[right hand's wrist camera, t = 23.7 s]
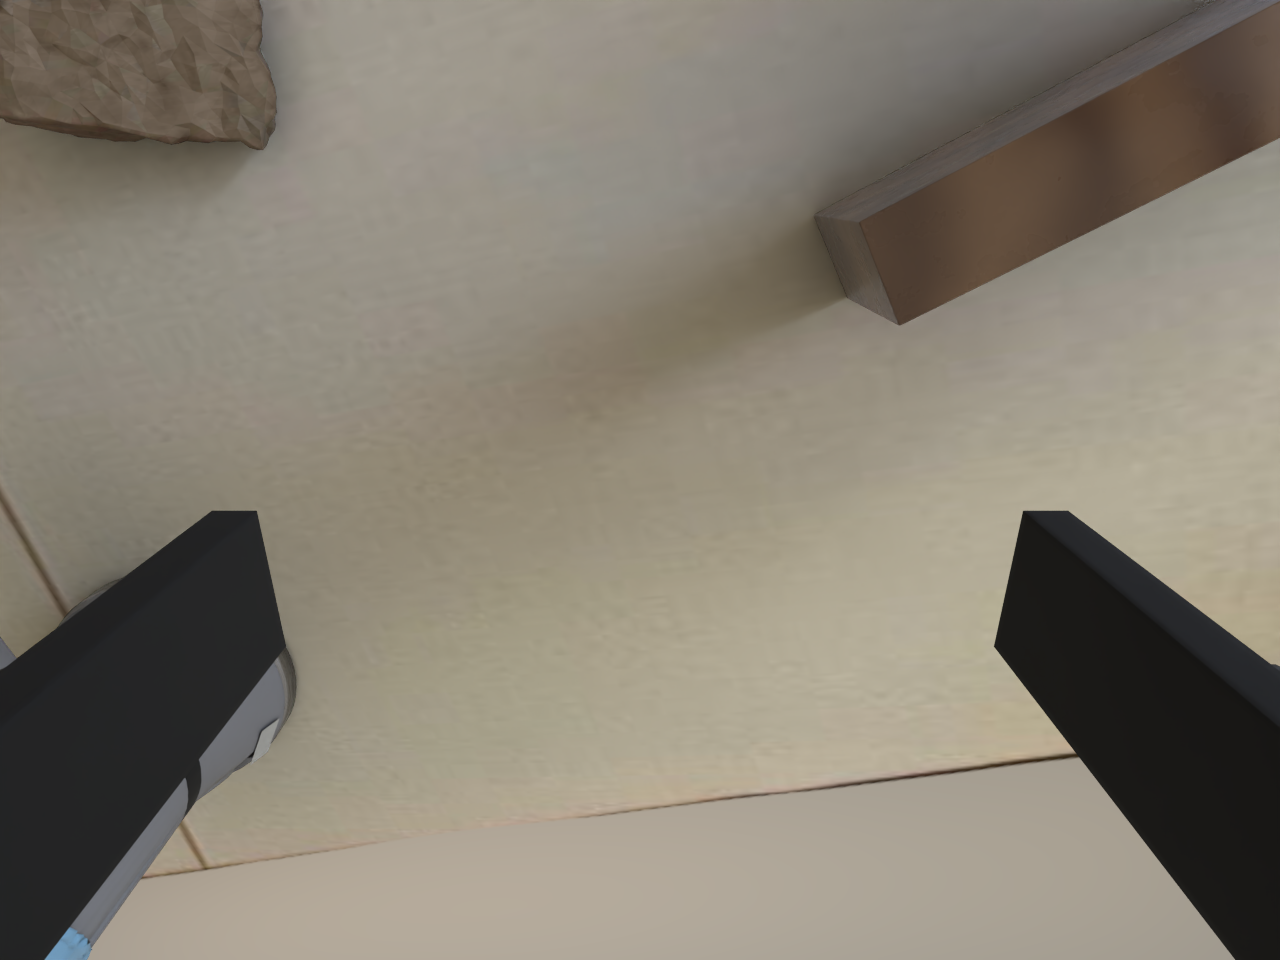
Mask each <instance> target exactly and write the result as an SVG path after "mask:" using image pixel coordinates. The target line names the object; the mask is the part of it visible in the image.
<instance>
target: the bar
mask: <svg viewBox="0 0 1280 960" xmlns="http://www.w3.org/2000/svg"><path fill="white" fill-rule="evenodd" d="M1278 138H1280V0H1216V1H1214V2H1212V3H1210V4H1208V5H1206V6H1204V7H1202V8H1201V9H1199V10H1197V11H1195V12H1193V13H1191V14H1189V15H1187V16H1186V17H1184V18H1182V19H1180V20H1178V21H1176V22H1174V23H1172V24H1171V25H1169V26H1167V27H1165V28H1163V29H1161V30H1159V31H1157V32H1156V33H1154V34H1152V35H1150V36H1148V37H1146V38H1144V39H1142V40H1141V41H1139V42H1137V43H1135V44H1133V45H1131V46H1129V47H1127V48H1126V49H1124V50H1122V51H1120V52H1118V53H1116V54H1114V55H1112V56H1111V57H1109V58H1107V59H1105V60H1103V61H1101V62H1099V63H1097V64H1096V65H1094V66H1092V67H1090V68H1088V69H1086V70H1084V71H1082V72H1081V73H1079V74H1077V75H1075V76H1073V77H1071V78H1069V79H1067V80H1066V81H1064V82H1062V83H1060V84H1058V85H1056V86H1054V87H1052V88H1051V89H1049V90H1047V91H1045V92H1043V93H1041V94H1039V95H1037V96H1036V97H1034V98H1032V99H1030V100H1028V101H1026V102H1024V103H1022V104H1021V105H1019V106H1017V107H1015V108H1013V109H1011V110H1009V111H1007V112H1006V113H1004V114H1002V115H1000V116H998V117H996V118H994V119H992V120H991V121H989V122H987V123H985V124H983V125H981V126H979V127H977V128H976V129H974V130H972V131H970V132H968V133H966V134H964V135H962V136H961V137H959V138H957V139H955V140H953V141H951V142H949V143H947V144H946V145H944V146H942V147H940V148H938V149H936V150H934V151H932V152H931V153H929V154H927V155H925V156H923V157H921V158H919V159H917V160H916V161H914V162H912V163H910V164H908V165H906V166H904V167H902V168H901V169H899V170H897V171H895V172H893V173H891V174H889V175H887V176H886V177H884V178H882V179H880V180H878V181H876V182H874V183H872V184H871V185H869V186H867V187H865V188H863V189H861V190H859V191H857V192H856V193H854V194H852V195H850V196H848V197H846V198H844V199H842V200H841V201H839V202H837V203H835V204H833V205H831V206H829V207H827V208H826V209H824V210H822V211H820V212H818V213H816V214H814V217H815V220H816V222H817V225H818V227H819V230H820V232H821V235H822V237H823V239H824V242H825V244H826V247H827V249H828V252H829V254H830V257H831V259H832V261H833V264H834V266H835V269H836V271H837V274H838V276H839V279H840V281H841V283H842V286H843V288H844V291H845V293H846V296H847V298H848V299H850V300H852V301H854V302H856V303H858V304H860V305H862V306H864V307H865V308H867V309H869V310H871V311H873V312H875V313H877V314H879V315H880V316H882V317H884V318H886V319H888V320H890V321H892V322H894V323H896V324H897V325H902V324H904V323H906V322H908V321H910V320H912V319H914V318H916V317H918V316H920V315H922V314H924V313H926V312H928V311H930V310H932V309H934V308H936V307H938V306H940V305H942V304H945V303H947V302H949V301H951V300H953V299H955V298H957V297H959V296H961V295H963V294H965V293H967V292H969V291H971V290H973V289H975V288H977V287H979V286H981V285H983V284H985V283H987V282H989V281H991V280H993V279H995V278H997V277H999V276H1001V275H1003V274H1005V273H1007V272H1009V271H1011V270H1013V269H1015V268H1017V267H1019V266H1021V265H1023V264H1025V263H1027V262H1030V261H1032V260H1034V259H1036V258H1038V257H1040V256H1042V255H1044V254H1046V253H1048V252H1050V251H1052V250H1054V249H1056V248H1058V247H1060V246H1062V245H1064V244H1066V243H1068V242H1070V241H1072V240H1074V239H1076V238H1078V237H1080V236H1082V235H1084V234H1086V233H1088V232H1090V231H1092V230H1094V229H1096V228H1098V227H1100V226H1102V225H1104V224H1106V223H1108V222H1110V221H1112V220H1114V219H1117V218H1119V217H1121V216H1123V215H1125V214H1127V213H1129V212H1131V211H1133V210H1135V209H1137V208H1139V207H1141V206H1143V205H1145V204H1147V203H1149V202H1151V201H1153V200H1155V199H1157V198H1159V197H1161V196H1163V195H1165V194H1167V193H1169V192H1171V191H1173V190H1175V189H1177V188H1179V187H1181V186H1183V185H1185V184H1187V183H1189V182H1191V181H1193V180H1195V179H1197V178H1199V177H1202V176H1204V175H1206V174H1208V173H1210V172H1212V171H1214V170H1216V169H1218V168H1220V167H1222V166H1224V165H1226V164H1228V163H1230V162H1232V161H1234V160H1236V159H1238V158H1240V157H1242V156H1244V155H1246V154H1248V153H1250V152H1252V151H1254V150H1256V149H1258V148H1260V147H1262V146H1264V145H1266V144H1268V143H1270V142H1272V141H1274V140H1276V139H1278Z"/></svg>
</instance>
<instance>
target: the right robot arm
mask: <svg viewBox="0 0 1280 960" xmlns="http://www.w3.org/2000/svg"><path fill="white" fill-rule="evenodd" d="M994 647H995V648H996V650H997V651H998V652H999V654H1000V655H1001V656H1002V657H1003V659H1004V660H1005V661H1006V663H1007V664H1008V665H1009V667H1010V668H1011V669H1012V670H1013V672H1014V673H1015V674H1016V676H1017V677H1018V678H1019V680H1020V681H1021V682H1022V683H1023V685H1024V686H1025V687H1026V689H1027V690H1028V691H1029V692H1030V694H1031V695H1032V696H1033V698H1034V699H1035V700H1036V702H1037V703H1038V704H1039V705H1040V707H1041V708H1042V709H1043V711H1044V712H1045V713H1046V715H1047V716H1048V717H1049V718H1050V720H1051V721H1052V722H1053V724H1054V725H1055V726H1056V728H1057V729H1058V730H1059V731H1060V733H1061V734H1062V735H1063V737H1064V738H1065V739H1066V741H1067V742H1068V743H1069V744H1070V746H1071V747H1072V748H1073V750H1074V751H1075V752H1076V753H1077V755H1078V756H1079V757H1080V759H1081V760H1082V761H1083V763H1084V764H1085V765H1086V766H1087V768H1088V769H1089V770H1090V772H1091V773H1092V774H1093V776H1094V777H1095V778H1096V779H1097V781H1098V782H1099V783H1100V785H1101V786H1102V787H1103V789H1104V790H1105V791H1106V792H1107V794H1108V795H1109V796H1110V798H1111V799H1112V800H1113V802H1114V803H1115V804H1116V805H1117V807H1118V808H1119V809H1120V811H1121V812H1122V813H1123V814H1124V816H1125V817H1126V818H1127V820H1128V821H1129V822H1130V824H1131V825H1132V826H1133V827H1134V829H1135V830H1136V831H1137V833H1138V834H1139V835H1140V837H1141V838H1142V839H1143V840H1144V842H1145V843H1146V844H1147V846H1148V847H1149V848H1150V849H1151V851H1152V852H1153V853H1154V855H1155V856H1156V857H1157V859H1158V860H1159V861H1160V863H1161V864H1162V865H1163V866H1164V868H1165V869H1166V870H1167V872H1168V873H1169V874H1170V875H1171V877H1172V878H1173V879H1174V881H1175V882H1176V883H1177V885H1178V886H1179V887H1180V888H1181V890H1182V891H1183V892H1184V894H1185V895H1186V896H1187V898H1188V899H1189V900H1190V901H1191V903H1192V904H1193V905H1194V907H1195V908H1196V909H1197V910H1198V912H1199V913H1200V914H1201V916H1202V917H1203V918H1204V920H1205V921H1206V922H1207V924H1208V925H1209V926H1210V927H1211V929H1212V930H1213V931H1214V933H1215V934H1216V935H1217V936H1218V938H1219V939H1220V940H1221V942H1222V943H1223V944H1224V946H1225V947H1226V948H1227V950H1228V951H1229V952H1230V953H1231V955H1232V956H1233V957H1234V959H1235V960H1280V666H1278V665H1276V664H1270V663H1268V662H1267V661H1266V660H1264V659H1263V658H1262V657H1260V656H1259V655H1258V654H1256V653H1255V652H1254V651H1252V650H1251V649H1250V648H1249V647H1247V646H1246V645H1245V644H1243V643H1242V642H1241V641H1239V640H1238V639H1237V638H1235V637H1234V636H1233V635H1231V634H1230V633H1229V632H1227V631H1226V630H1225V629H1223V628H1222V627H1221V626H1219V625H1218V624H1217V623H1216V622H1214V621H1213V620H1212V619H1210V618H1209V617H1208V616H1206V615H1205V614H1204V613H1202V612H1201V611H1200V610H1198V609H1197V608H1196V607H1194V606H1193V605H1192V604H1190V603H1189V602H1188V601H1186V600H1185V599H1184V598H1182V597H1181V596H1180V595H1179V594H1177V593H1176V592H1175V591H1173V590H1172V589H1171V588H1169V587H1168V586H1167V585H1165V584H1164V583H1163V582H1161V581H1160V580H1159V579H1157V578H1156V577H1155V576H1153V575H1152V574H1151V573H1149V572H1148V571H1147V570H1145V569H1144V568H1143V567H1142V566H1140V565H1139V564H1138V563H1136V562H1135V561H1134V560H1132V559H1131V558H1130V557H1128V556H1127V555H1126V554H1124V553H1123V552H1122V551H1120V550H1119V549H1118V548H1116V547H1115V546H1114V545H1112V544H1111V543H1110V542H1108V541H1107V540H1106V539H1105V538H1103V537H1102V536H1101V535H1099V534H1098V533H1097V532H1095V531H1094V530H1093V529H1091V528H1090V527H1089V526H1087V525H1086V524H1085V523H1083V522H1082V521H1081V520H1079V519H1078V518H1077V517H1075V516H1074V515H1073V514H1071V513H1070V512H1069V511H1023V514H1022V519H1021V524H1020V528H1019V533H1018V538H1017V542H1016V547H1015V552H1014V556H1013V561H1012V566H1011V570H1010V575H1009V580H1008V584H1007V589H1006V593H1005V598H1004V603H1003V607H1002V612H1001V617H1000V621H999V626H998V631H997V635H996V640H995V645H994ZM295 696H296V677H295V671H294V667H293V663H292V660H291V658H290V655H289V652H288V651H287V649H286V645H285V640H284V635H283V631H282V626H281V621H280V617H279V612H278V607H277V603H276V598H275V593H274V589H273V584H272V580H271V575H270V570H269V566H268V561H267V556H266V552H265V547H264V542H263V538H262V533H261V528H260V524H259V519H258V514H257V511H211V512H210V513H209V514H207V515H206V516H205V517H203V518H202V519H201V520H199V521H198V522H197V523H195V524H194V525H193V526H191V527H190V528H189V529H187V530H186V531H185V532H183V533H182V534H181V535H179V536H178V537H177V538H175V539H174V540H173V541H172V542H170V543H169V544H168V545H166V546H165V547H164V548H162V549H161V550H160V551H158V552H157V553H156V554H154V555H153V556H152V557H150V558H149V559H148V560H146V561H145V562H144V563H142V564H141V565H140V566H138V567H137V568H136V569H135V570H133V571H132V572H131V573H129V574H128V575H127V576H125V577H124V578H121V579H118V580H115V581H113V582H111V583H109V584H106V585H104V586H103V587H101V588H100V589H98V590H97V591H95V592H94V593H92V594H91V595H90V596H88V597H87V598H86V599H84V600H83V601H82V602H80V603H79V604H78V605H77V606H75V607H74V608H73V609H72V610H71V611H70V612H69V613H68V614H67V615H66V616H65V617H64V619H63V620H62V622H61V623H60V624H59V626H58V627H57V629H55V630H54V631H53V632H51V633H50V634H49V635H47V636H46V637H45V638H43V639H42V640H41V641H39V642H38V643H37V644H35V645H34V646H33V647H31V648H30V649H29V650H28V651H26V652H25V653H24V654H22V655H21V656H20V657H18V658H16V657H15V656H14V654H13V653H12V652H11V650H10V649H9V648H8V646H7V645H6V644H5V642H4V641H3V640H2V638H1V637H0V960H87V959H88V957H89V954H90V952H91V950H92V949H91V948H92V946H93V945H94V944H95V942H96V941H97V939H98V938H99V937H100V935H101V934H102V932H103V931H104V930H105V928H106V927H107V925H108V924H109V923H110V921H111V920H112V918H113V917H114V916H115V914H116V913H117V911H118V910H119V909H120V907H121V906H122V904H123V903H124V902H125V900H126V899H127V897H128V896H129V895H130V893H131V892H132V890H133V889H134V887H135V886H136V885H137V883H138V882H139V881H140V879H141V878H142V876H143V875H144V873H145V872H146V871H147V869H148V868H149V866H150V865H151V864H152V862H153V861H154V859H155V858H156V857H157V855H158V854H159V852H160V851H161V850H162V848H163V847H164V845H165V844H166V843H167V841H168V840H169V838H170V837H171V836H172V834H173V833H174V831H175V830H176V829H177V827H178V826H179V824H180V823H181V821H182V820H183V818H184V817H185V816H186V814H187V813H188V812H189V810H190V809H191V808H192V806H193V805H194V803H195V802H196V801H197V800H198V799H200V798H201V797H203V796H204V795H205V794H207V793H208V792H210V791H211V790H212V789H214V788H215V787H216V786H218V785H219V784H220V783H222V782H223V781H224V780H225V779H226V778H227V777H229V776H230V775H231V773H232V772H234V771H236V770H238V769H240V768H242V767H244V766H245V765H247V764H248V763H250V762H251V761H252V762H251V764H253V763H254V762H255V761H256V760H258V759H259V758H260V757H262V756H263V755H264V754H265V753H267V752H268V750H269V747H270V744H271V743H272V742H273V740H274V739H275V737H276V736H277V734H278V733H279V731H280V730H281V728H282V727H283V725H284V724H285V722H286V721H287V719H288V717H289V715H290V713H291V711H292V708H293V705H294V701H295Z"/></svg>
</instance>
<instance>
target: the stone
mask: <svg viewBox="0 0 1280 960" xmlns="http://www.w3.org/2000/svg"><path fill="white" fill-rule="evenodd" d="M262 17H263V11H262V8H261V5H260V2H259V0H0V118H4V119H5V121H6V122H8V123H12V124H16V125H25V126H33V127H37V128H41V129H46V130H51V131H55V132H60V133H66V134H72V135H74V136H77V137H84V138H98V139H108V140H112V141H133V142H136V141H138V140H141V139H144V138H150V139H154V140H157V141H161V142H164V143H168V144H171V145H172V144H176V143H181V142H184V141H193V142H204V143H210V142H213V141H222V142H235V141H241V142H243V143H244V144H245V145H247V146H248V147H250V148H253V149H256V150H263V149H264V148H265V146H266V145H267V143H268V140H269V137H270V136H271V134H272V133H273V132H274V130H275V125H276V124H275V121H274V117H275V115H276V113H277V110H276V92H275V88H274V85H273V82H272V79H271V74H270V70H269V68H268V66H267V63H266V62H265V60H264V58H263V56H262V54H261V52H260V44H261V40H262V28H261V25H262Z"/></svg>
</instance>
